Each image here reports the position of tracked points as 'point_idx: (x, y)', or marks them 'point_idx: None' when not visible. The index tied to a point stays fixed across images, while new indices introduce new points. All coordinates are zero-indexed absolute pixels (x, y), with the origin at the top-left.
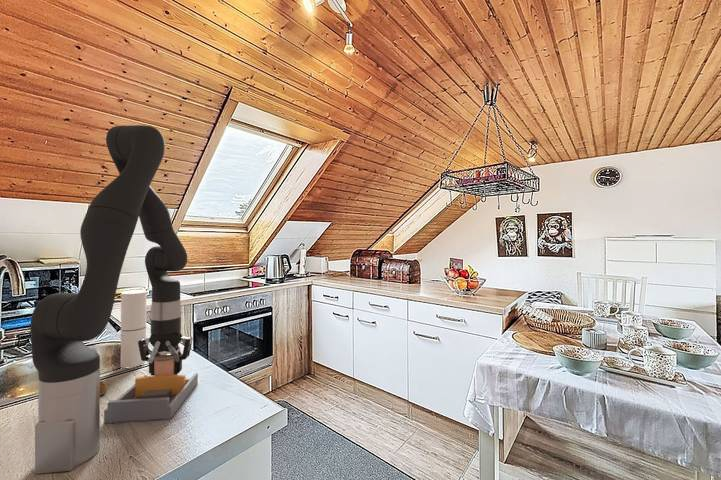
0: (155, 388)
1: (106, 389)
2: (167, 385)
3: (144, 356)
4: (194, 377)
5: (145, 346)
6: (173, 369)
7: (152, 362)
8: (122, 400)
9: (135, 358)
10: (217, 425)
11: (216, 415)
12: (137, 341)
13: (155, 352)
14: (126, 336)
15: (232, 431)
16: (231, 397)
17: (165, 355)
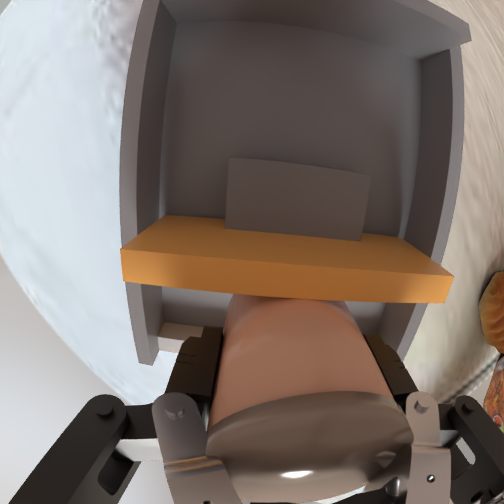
0: (321, 239)
1: (482, 309)
2: (248, 238)
3: (472, 423)
4: (131, 321)
5: (487, 492)
6: (225, 351)
7: (401, 402)
8: (420, 7)
9: None
10: (34, 14)
11: (31, 57)
12: None
13: (417, 476)
14: (450, 500)
15: (14, 6)
16: (7, 180)
17: (306, 465)
